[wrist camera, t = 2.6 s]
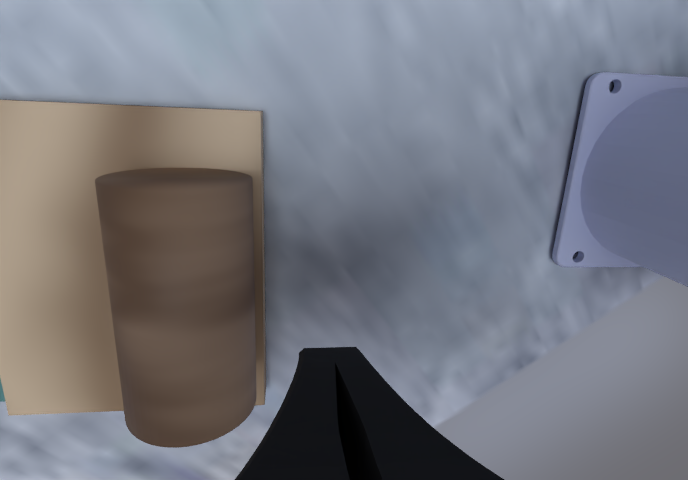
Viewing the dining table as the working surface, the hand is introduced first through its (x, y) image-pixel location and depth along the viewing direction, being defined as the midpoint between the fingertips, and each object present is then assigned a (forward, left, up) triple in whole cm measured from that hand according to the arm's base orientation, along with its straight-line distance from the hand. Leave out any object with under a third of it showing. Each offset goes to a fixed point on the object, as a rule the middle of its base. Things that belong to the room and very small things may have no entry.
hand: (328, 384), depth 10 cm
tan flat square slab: (+8, 0, -8) cm, 11 cm away
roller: (+4, 0, -5) cm, 7 cm away
